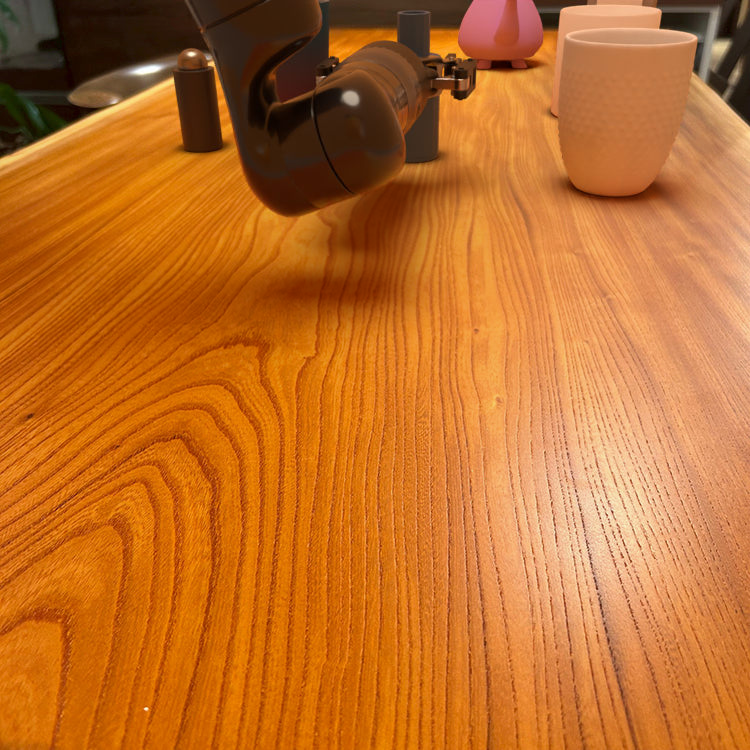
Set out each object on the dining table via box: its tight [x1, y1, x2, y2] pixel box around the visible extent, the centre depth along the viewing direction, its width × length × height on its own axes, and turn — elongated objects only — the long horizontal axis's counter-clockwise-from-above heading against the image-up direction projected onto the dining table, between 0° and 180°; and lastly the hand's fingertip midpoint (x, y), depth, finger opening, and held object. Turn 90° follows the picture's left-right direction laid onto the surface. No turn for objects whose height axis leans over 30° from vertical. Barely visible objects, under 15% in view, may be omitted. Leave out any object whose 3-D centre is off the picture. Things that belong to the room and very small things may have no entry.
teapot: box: [457, 0, 544, 70], centre depth 128 cm, size 20×14×12 cm
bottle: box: [396, 10, 442, 163], centre depth 79 cm, size 5×5×14 cm
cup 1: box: [276, 0, 330, 103], centre depth 82 cm, size 7×7×15 cm
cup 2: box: [550, 4, 663, 118], centre depth 96 cm, size 12×12×12 cm
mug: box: [557, 28, 699, 197], centre depth 71 cm, size 15×11×13 cm
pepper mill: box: [172, 47, 224, 153], centre depth 85 cm, size 4×4×10 cm
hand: (409, 63), depth 77 cm, fingers open, 8 cm apart
